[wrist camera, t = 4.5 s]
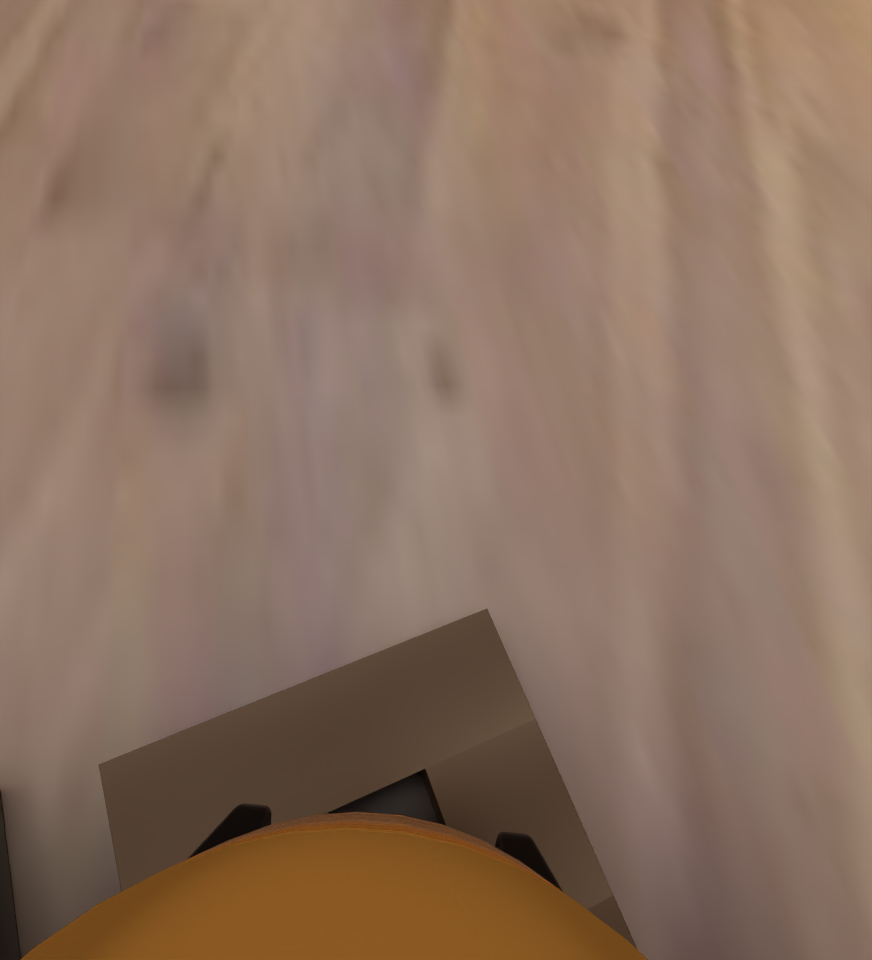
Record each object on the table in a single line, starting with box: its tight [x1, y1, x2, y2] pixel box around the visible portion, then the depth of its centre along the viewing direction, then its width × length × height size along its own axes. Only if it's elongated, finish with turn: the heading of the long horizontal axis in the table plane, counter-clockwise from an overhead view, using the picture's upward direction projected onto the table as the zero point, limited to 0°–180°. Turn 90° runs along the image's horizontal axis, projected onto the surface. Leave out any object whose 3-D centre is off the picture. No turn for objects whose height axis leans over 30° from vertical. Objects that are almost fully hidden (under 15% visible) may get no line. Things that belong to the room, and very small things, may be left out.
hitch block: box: [99, 609, 637, 949], centre depth 13 cm, size 8×8×3 cm
